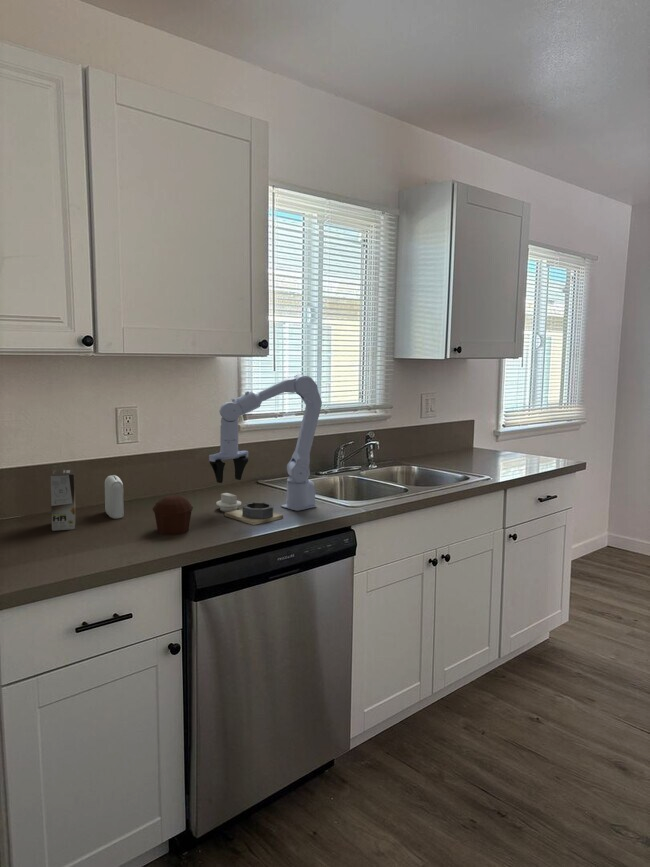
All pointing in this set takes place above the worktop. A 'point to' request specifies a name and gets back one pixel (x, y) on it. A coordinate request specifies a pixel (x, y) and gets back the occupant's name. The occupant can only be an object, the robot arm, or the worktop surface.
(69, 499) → the coffee box
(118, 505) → the grey rounded upright block
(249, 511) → the grey faceted ring
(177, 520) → the muffin
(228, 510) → the white flanged knob
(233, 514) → the mount board
